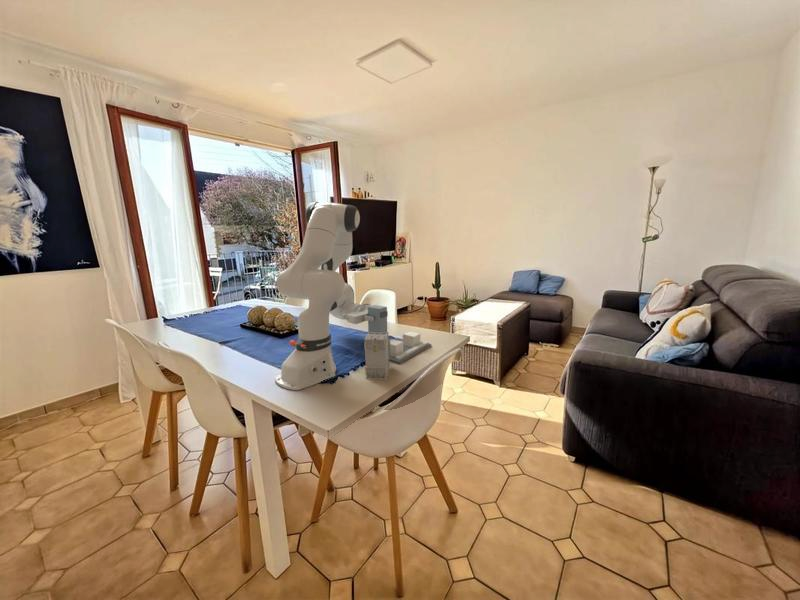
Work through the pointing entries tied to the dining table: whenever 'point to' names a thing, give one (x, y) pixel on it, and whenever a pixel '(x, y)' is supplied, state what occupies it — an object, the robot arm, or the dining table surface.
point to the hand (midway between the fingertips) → (379, 317)
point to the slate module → (378, 318)
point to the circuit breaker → (377, 355)
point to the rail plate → (406, 347)
